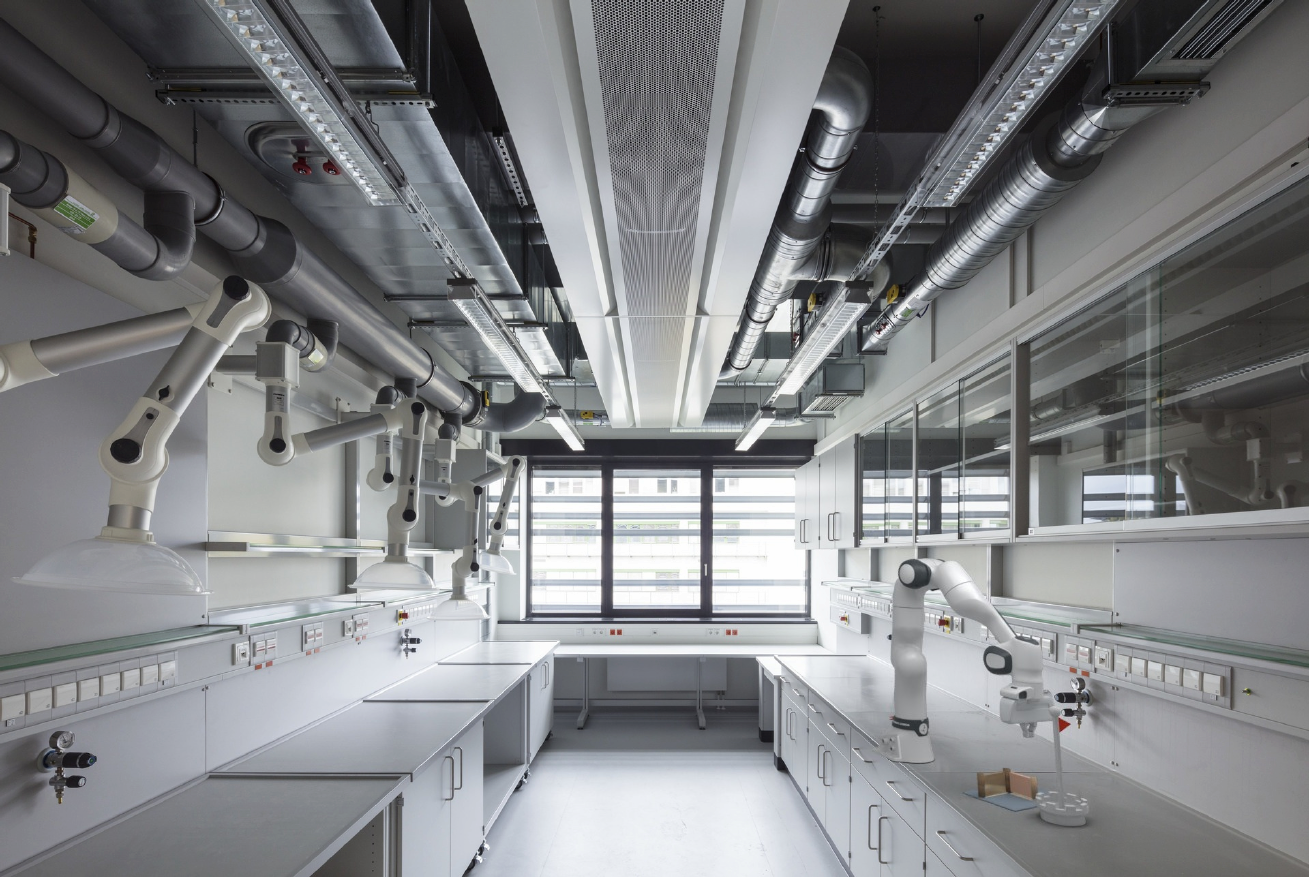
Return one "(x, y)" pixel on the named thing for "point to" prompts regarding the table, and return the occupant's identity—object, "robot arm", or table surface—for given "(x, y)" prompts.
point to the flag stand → (1061, 788)
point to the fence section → (1023, 785)
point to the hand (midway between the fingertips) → (1028, 737)
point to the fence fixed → (993, 783)
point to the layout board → (1008, 800)
